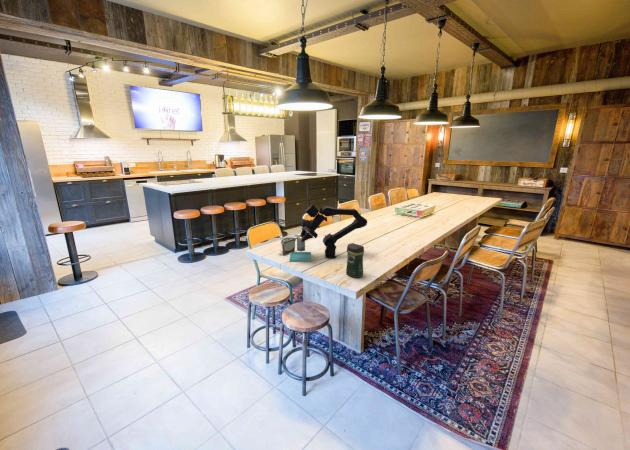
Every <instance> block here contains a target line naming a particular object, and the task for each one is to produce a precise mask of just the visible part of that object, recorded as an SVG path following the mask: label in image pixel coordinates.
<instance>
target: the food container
mask: <svg viewBox="0 0 630 450" xmlns="http://www.w3.org/2000/svg"><path fill="white" fill-rule="evenodd" d="M296 242H297V238H296V237H291V236H290V237H284V238H282V239H281V240H280V245H281V248H282V254H283V256H288V255H290V254H291V252H296Z"/></svg>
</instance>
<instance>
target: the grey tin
mask: <svg viewBox="0 0 630 450" xmlns="http://www.w3.org/2000/svg"><path fill="white" fill-rule="evenodd" d="M303 237H304V236H302V235H297V236H296V252H306V241H304V242H302V241H301V240H302V239H303Z"/></svg>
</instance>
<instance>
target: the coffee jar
mask: <svg viewBox="0 0 630 450" xmlns="http://www.w3.org/2000/svg"><path fill="white" fill-rule="evenodd" d="M364 253H365V247H364V246H363V245H361V244H357V243H354V242H351V243H348V244H347V247H346V254H347V255H346V256H347V260H346V268H345V269H346V270H345V273H346V275H347V276H349V277H353V278H361V277H362V276H363V275H364Z"/></svg>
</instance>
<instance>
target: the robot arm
mask: <svg viewBox="0 0 630 450" xmlns="http://www.w3.org/2000/svg"><path fill="white" fill-rule="evenodd" d="M304 212H305V213H306V214H307V215H308V216H309V217H310V218H313V219H310V220H309V219H305V218H301V220H300V226H301V233H300V235H302V236H304V237H303V239H302V240H301V241H302V242H304V241H305V242H306V241H308V240H310V239H313V238H315V239H317V237H318V235H319V234H318V233H317V232H316V230H317V229H319V228H320V225H321V224H322V223H323V222H324V221H325V222H326V223H327V222H328V217H334V216H353V218H354V220H353V221H352V223H350V224H348V225H347V226H345V227H343V228H342V229H340V230H338V231H337V232H335V233H333V234H331V233H330V232H329V233H328V234H326V235H324V237H323V239H322V243H323V244H324V246H325V249H324V256H325V259H336V249H337V245H336V242H337V241H338V240H340V239H341V238H343V237H344V236H347V235H348V234H350V233H351V232H353V231H355V230H358V229H361V228H362V229H363V228H364V227H366V226H367V225H368V220H367V219H366V217H365V216H362V215H361V214H360V213H359V211H358V210H357V209H355V208H341V207H340V208H338V207H337V208H336V207H332V206H329V205H324V206H323V207H320V208H317V207H316V206H315V205H314V204H313V203H311V204H310V205H309V206H307V208H305V210H304ZM300 235H299V236H300Z"/></svg>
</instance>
